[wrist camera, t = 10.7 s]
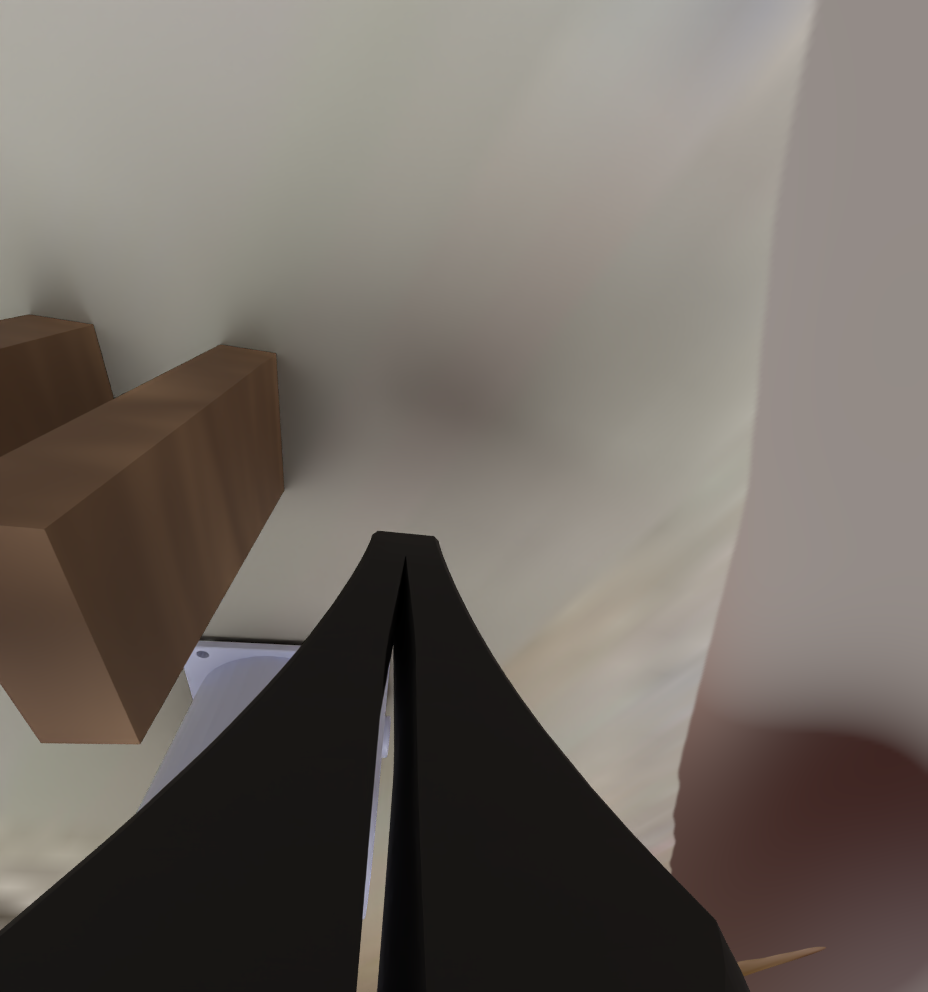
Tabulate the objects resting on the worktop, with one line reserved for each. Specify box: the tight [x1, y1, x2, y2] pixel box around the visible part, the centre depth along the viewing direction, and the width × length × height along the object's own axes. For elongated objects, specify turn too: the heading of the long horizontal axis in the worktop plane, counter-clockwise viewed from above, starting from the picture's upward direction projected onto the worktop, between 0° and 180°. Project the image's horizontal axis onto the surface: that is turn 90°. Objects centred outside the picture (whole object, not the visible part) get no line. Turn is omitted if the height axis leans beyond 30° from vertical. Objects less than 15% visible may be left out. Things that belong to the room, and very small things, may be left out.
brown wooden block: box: [0, 345, 284, 744], centre depth 10 cm, size 2×5×9 cm, turn 170°
